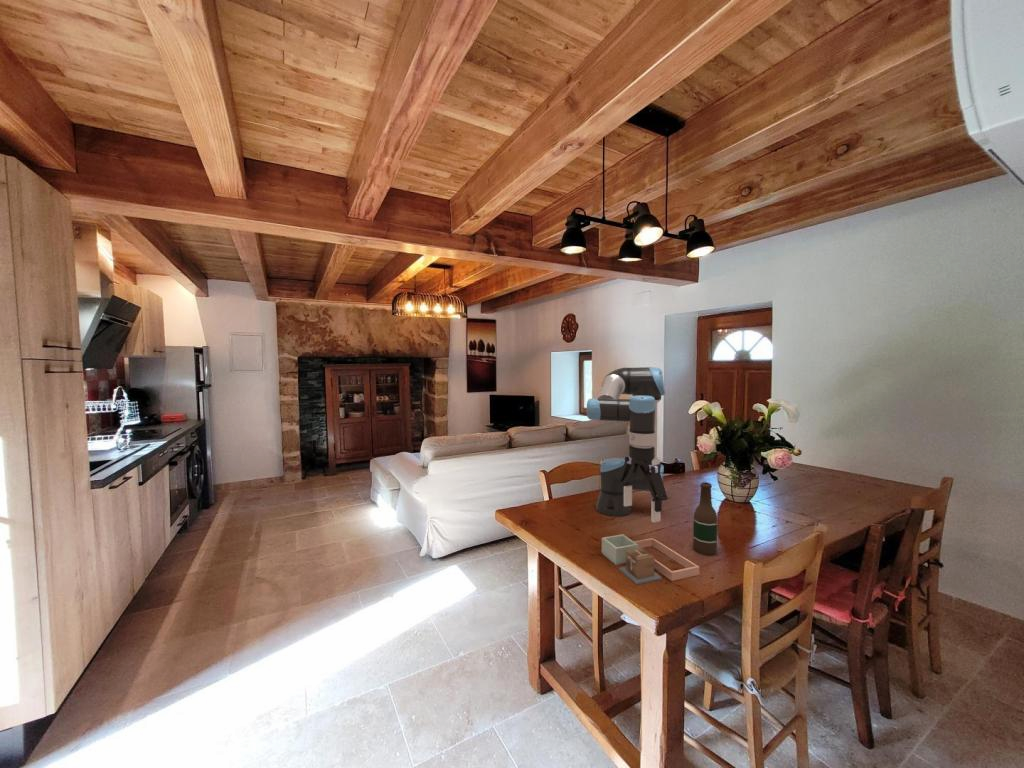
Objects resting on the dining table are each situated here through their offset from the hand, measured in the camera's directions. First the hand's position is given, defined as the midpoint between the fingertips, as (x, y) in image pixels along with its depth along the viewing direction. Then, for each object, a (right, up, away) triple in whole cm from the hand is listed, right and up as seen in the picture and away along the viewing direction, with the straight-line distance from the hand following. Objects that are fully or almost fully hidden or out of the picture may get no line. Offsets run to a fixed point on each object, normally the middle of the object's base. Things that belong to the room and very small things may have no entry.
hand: (641, 513), depth 120 cm
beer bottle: (+28, -19, +15) cm, 37 cm away
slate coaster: (0, -19, 0) cm, 19 cm away
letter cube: (-1, -18, 0) cm, 18 cm away
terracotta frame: (+9, -19, +8) cm, 22 cm away
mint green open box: (-4, -19, +11) cm, 22 cm away
